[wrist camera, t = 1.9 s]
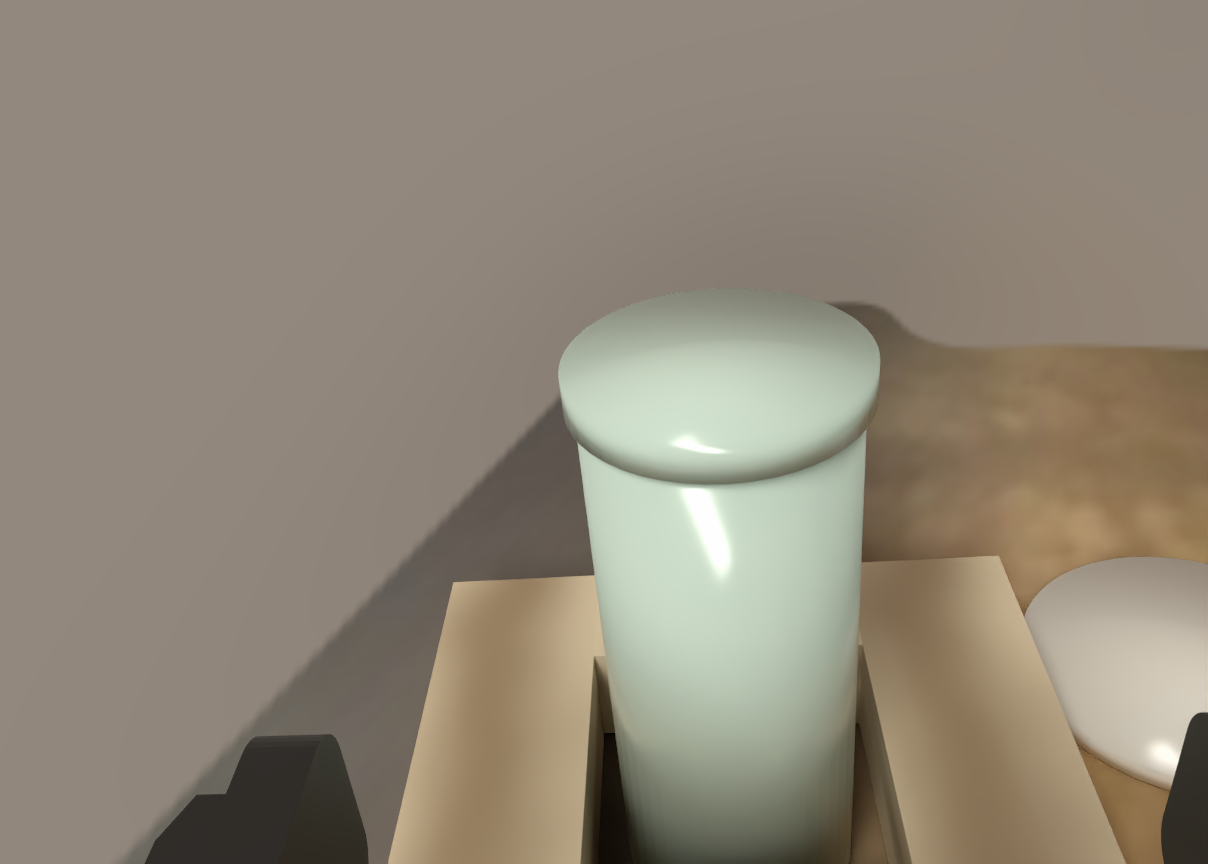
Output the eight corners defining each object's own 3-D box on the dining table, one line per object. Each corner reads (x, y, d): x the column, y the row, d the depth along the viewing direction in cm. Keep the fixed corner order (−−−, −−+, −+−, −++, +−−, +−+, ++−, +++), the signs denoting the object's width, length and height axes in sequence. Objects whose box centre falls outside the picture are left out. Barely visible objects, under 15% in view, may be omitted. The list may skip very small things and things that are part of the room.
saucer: (1277, 564, 35) (1281, 549, 35) (1450, 797, 27) (1458, 781, 27) (985, 578, 36) (986, 564, 35) (1074, 809, 28) (1078, 793, 28)
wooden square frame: (988, 632, 34) (998, 555, 32) (1170, 1124, 22) (1199, 1041, 20) (469, 655, 35) (453, 582, 33) (374, 1130, 23) (343, 1052, 22)
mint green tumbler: (832, 694, 32) (841, 245, 25) (878, 941, 26) (909, 434, 18) (626, 702, 33) (573, 264, 25) (618, 947, 26) (545, 455, 19)
